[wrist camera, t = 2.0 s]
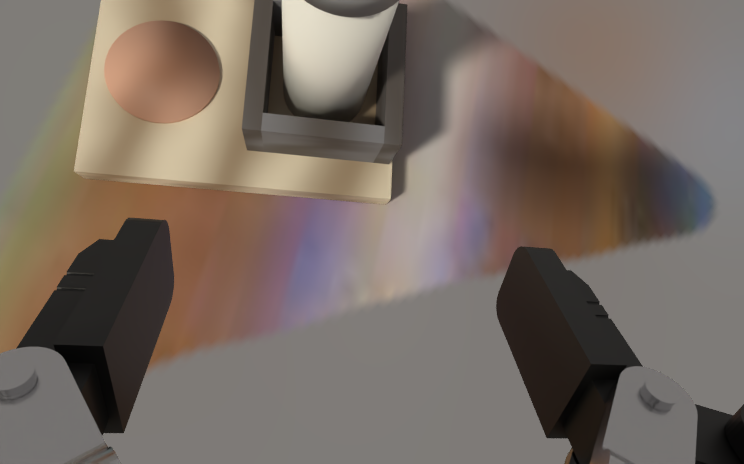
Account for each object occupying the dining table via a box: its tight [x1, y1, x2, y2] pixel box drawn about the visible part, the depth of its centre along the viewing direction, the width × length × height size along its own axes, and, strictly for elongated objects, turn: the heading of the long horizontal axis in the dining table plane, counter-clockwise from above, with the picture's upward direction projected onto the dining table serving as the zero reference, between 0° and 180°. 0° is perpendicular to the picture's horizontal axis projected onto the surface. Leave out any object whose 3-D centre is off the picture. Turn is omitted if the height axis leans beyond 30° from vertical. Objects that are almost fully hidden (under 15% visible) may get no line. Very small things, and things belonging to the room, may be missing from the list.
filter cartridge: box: [282, 0, 399, 122], centre depth 24 cm, size 5×5×14 cm
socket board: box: [74, 0, 407, 204], centre depth 29 cm, size 18×13×5 cm
